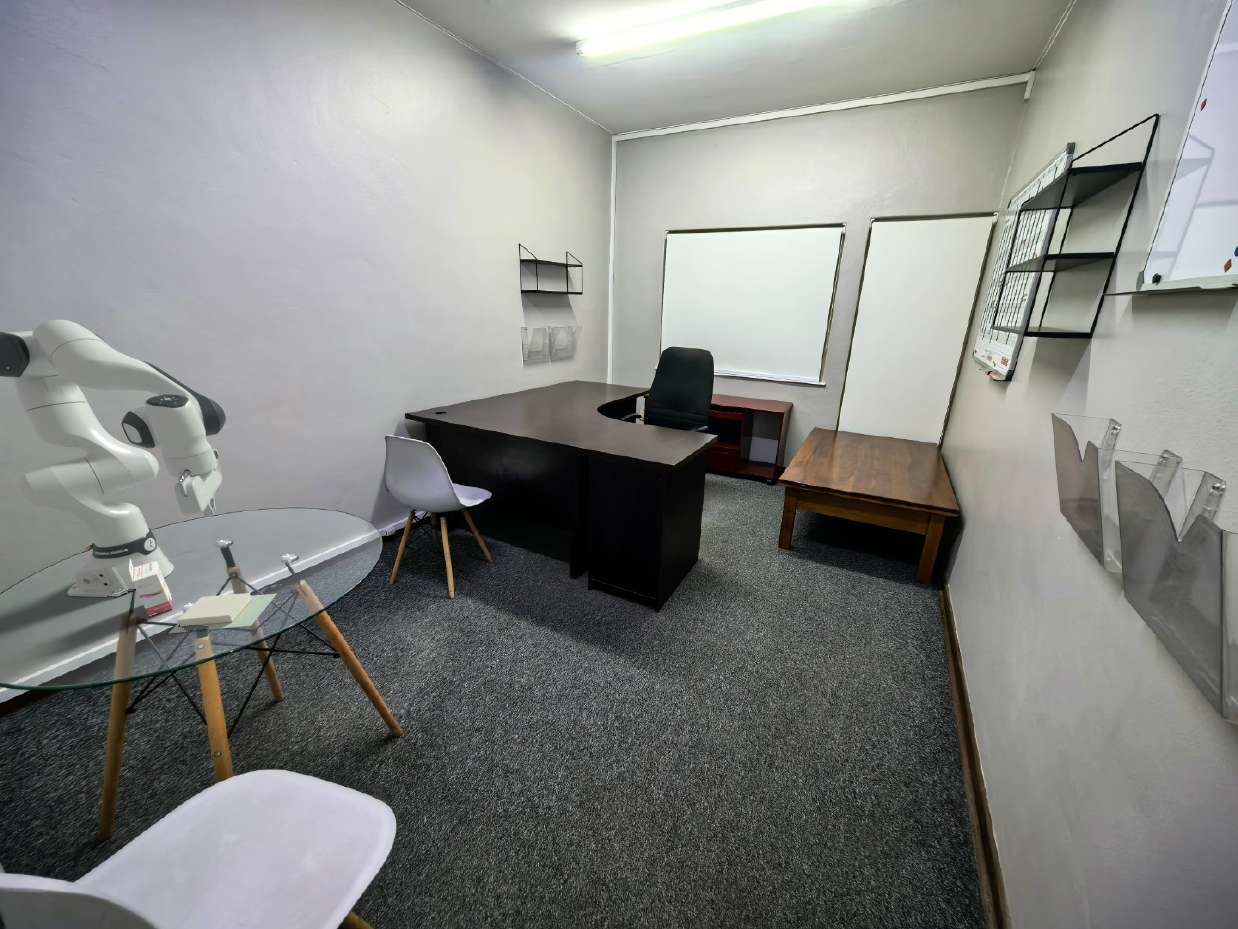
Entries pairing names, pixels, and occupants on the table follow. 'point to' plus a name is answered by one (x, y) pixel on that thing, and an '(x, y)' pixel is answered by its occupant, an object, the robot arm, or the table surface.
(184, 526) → the table surface
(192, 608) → the cream layered slab
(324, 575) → the table surface
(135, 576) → the ink cartridge box
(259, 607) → the felt pad
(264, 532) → the table surface
